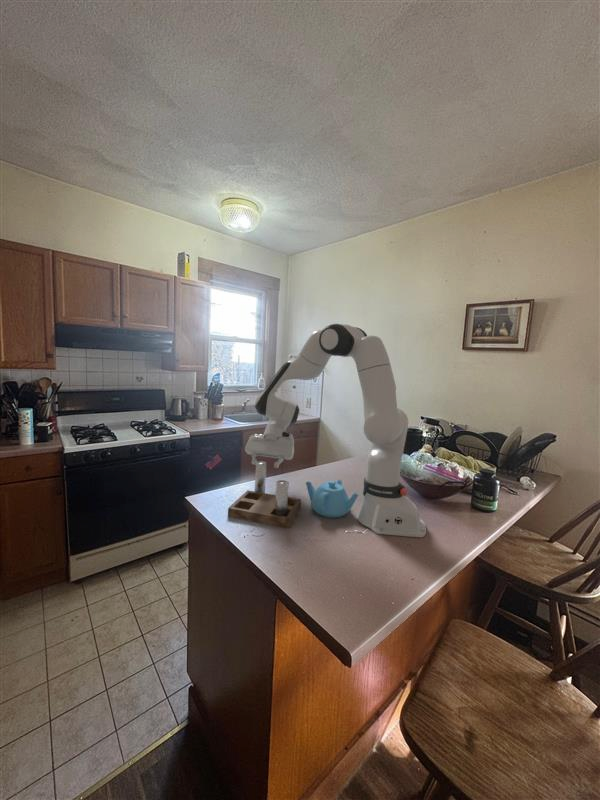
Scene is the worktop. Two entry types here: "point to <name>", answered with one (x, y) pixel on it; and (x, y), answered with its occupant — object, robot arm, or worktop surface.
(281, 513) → the pin
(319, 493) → the teapot
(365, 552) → the worktop surface
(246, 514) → the socket board
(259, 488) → the pin
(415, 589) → the worktop surface
